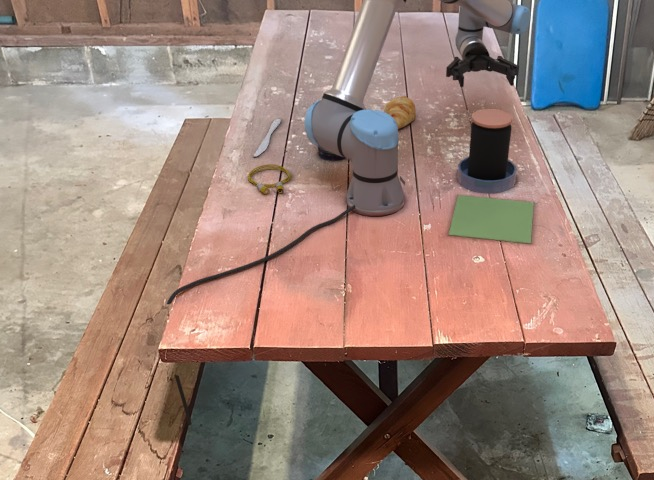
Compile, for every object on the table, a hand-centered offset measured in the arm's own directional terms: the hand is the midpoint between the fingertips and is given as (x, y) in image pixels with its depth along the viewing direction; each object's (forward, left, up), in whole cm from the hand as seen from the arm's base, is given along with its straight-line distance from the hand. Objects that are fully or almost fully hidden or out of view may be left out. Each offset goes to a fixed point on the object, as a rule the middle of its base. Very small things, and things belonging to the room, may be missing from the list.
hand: (487, 81), depth 188 cm
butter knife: (-7, +65, -24) cm, 70 cm away
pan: (-9, -4, -24) cm, 26 cm away
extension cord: (-32, +52, -24) cm, 66 cm away
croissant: (+21, +33, -24) cm, 46 cm away
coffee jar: (-9, -4, -24) cm, 26 cm away
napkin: (-29, -11, -24) cm, 39 cm away
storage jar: (-10, +42, -24) cm, 49 cm away
